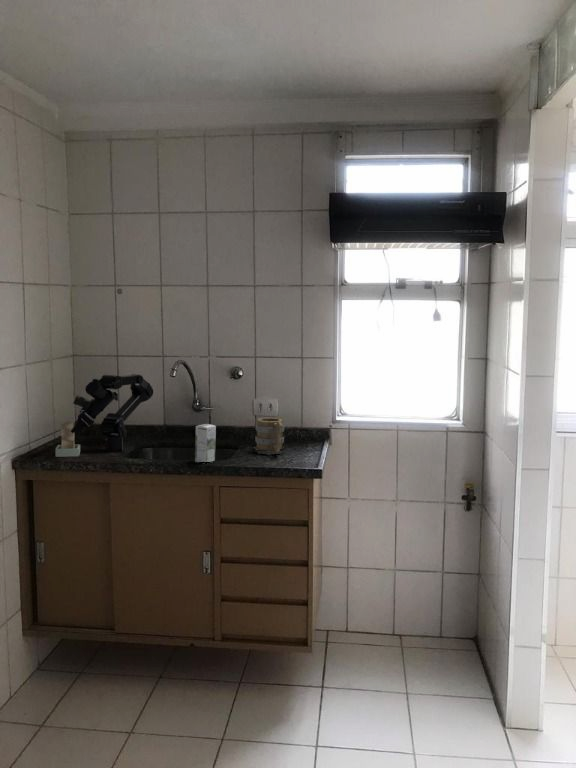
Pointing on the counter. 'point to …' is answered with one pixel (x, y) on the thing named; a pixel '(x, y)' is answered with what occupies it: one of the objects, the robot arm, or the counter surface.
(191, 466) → the counter surface
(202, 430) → the syrup box
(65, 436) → the birch block
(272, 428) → the tankard
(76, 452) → the holder
